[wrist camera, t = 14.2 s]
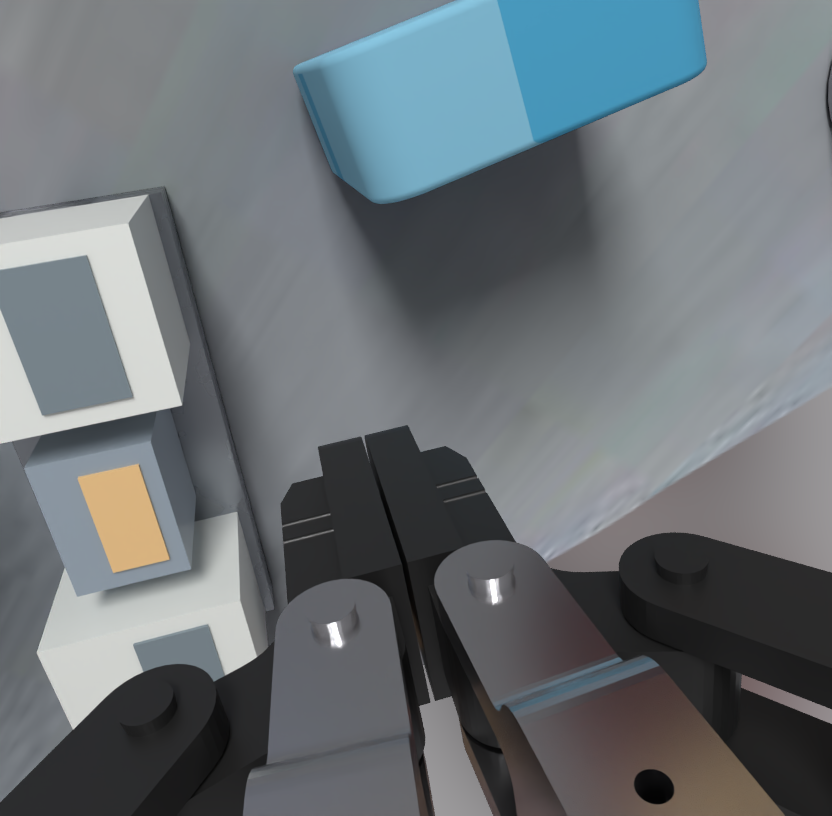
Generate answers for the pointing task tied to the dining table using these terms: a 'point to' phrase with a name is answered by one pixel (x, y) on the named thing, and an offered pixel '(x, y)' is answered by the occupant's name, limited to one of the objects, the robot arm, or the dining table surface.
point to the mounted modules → (104, 401)
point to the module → (116, 500)
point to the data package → (488, 84)
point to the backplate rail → (192, 402)
